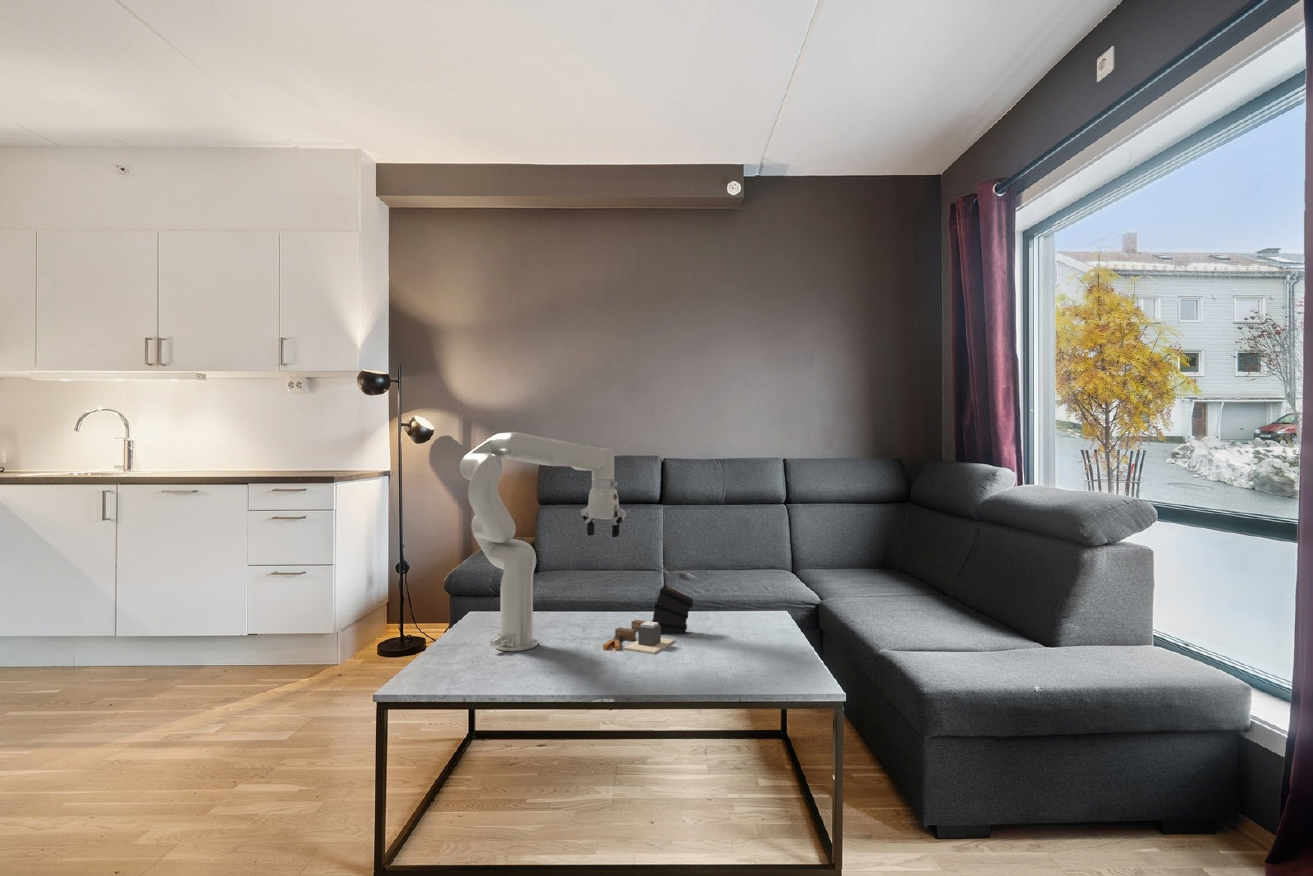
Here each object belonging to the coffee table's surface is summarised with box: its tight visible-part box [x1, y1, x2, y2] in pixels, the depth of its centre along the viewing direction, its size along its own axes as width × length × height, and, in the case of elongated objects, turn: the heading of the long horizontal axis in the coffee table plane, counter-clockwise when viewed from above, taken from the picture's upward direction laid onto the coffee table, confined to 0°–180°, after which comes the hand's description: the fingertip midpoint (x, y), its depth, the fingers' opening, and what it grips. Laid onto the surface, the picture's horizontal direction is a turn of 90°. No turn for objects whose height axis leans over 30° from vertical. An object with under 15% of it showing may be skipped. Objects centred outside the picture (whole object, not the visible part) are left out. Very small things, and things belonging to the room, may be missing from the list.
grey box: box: [637, 620, 662, 647], centre depth 196 cm, size 5×5×6 cm
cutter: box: [602, 635, 622, 651], centre depth 196 cm, size 11×5×1 cm, turn 173°
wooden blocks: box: [614, 619, 647, 642], centre depth 207 cm, size 13×6×3 cm, turn 153°
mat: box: [623, 637, 676, 655], centre depth 195 cm, size 14×10×1 cm
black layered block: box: [651, 584, 694, 635], centre depth 210 cm, size 4×13×15 cm, turn 87°
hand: (603, 536), depth 218 cm, fingers open, 9 cm apart
